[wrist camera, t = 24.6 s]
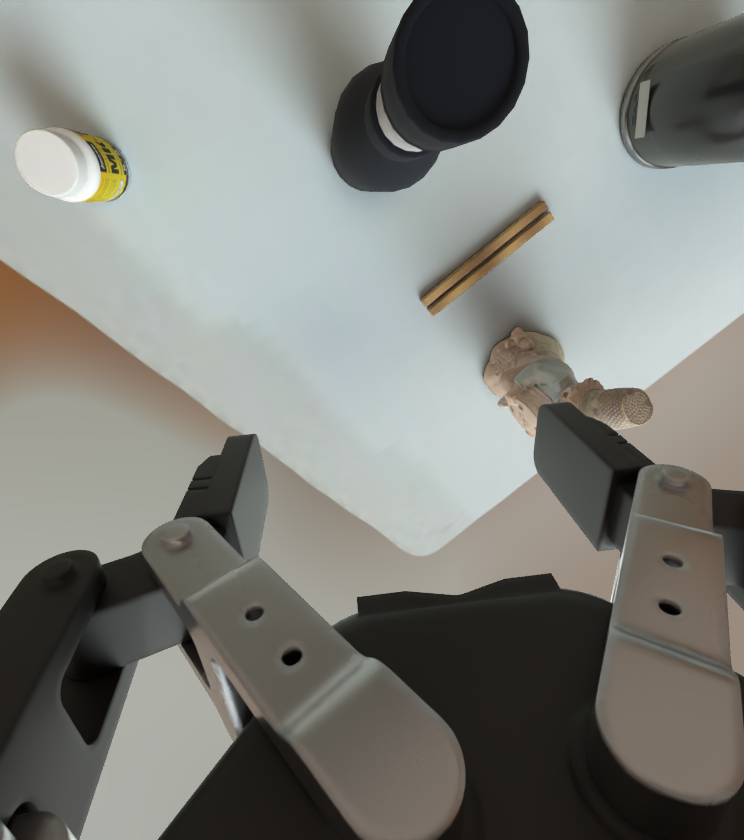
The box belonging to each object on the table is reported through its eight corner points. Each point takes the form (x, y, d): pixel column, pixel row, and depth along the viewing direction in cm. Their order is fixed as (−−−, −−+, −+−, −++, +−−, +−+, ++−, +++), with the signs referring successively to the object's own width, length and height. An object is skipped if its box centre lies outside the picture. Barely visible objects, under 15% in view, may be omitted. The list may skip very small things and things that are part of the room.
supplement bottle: (143, 174, 39) (100, 170, 31) (107, 214, 40) (57, 218, 32) (93, 122, 37) (34, 103, 29) (57, 165, 38) (-9, 158, 30)
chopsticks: (540, 200, 42) (544, 200, 42) (550, 218, 43) (554, 219, 43) (419, 299, 45) (421, 301, 45) (431, 314, 46) (433, 316, 46)
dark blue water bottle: (354, 86, 37) (433, -178, 11) (419, 135, 39) (625, 16, 13) (317, 163, 40) (303, 105, 13) (380, 206, 41) (483, 234, 15)
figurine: (534, 305, 47) (662, 375, 29) (571, 365, 50) (707, 461, 32) (462, 360, 49) (541, 457, 31) (503, 414, 52) (596, 530, 34)
